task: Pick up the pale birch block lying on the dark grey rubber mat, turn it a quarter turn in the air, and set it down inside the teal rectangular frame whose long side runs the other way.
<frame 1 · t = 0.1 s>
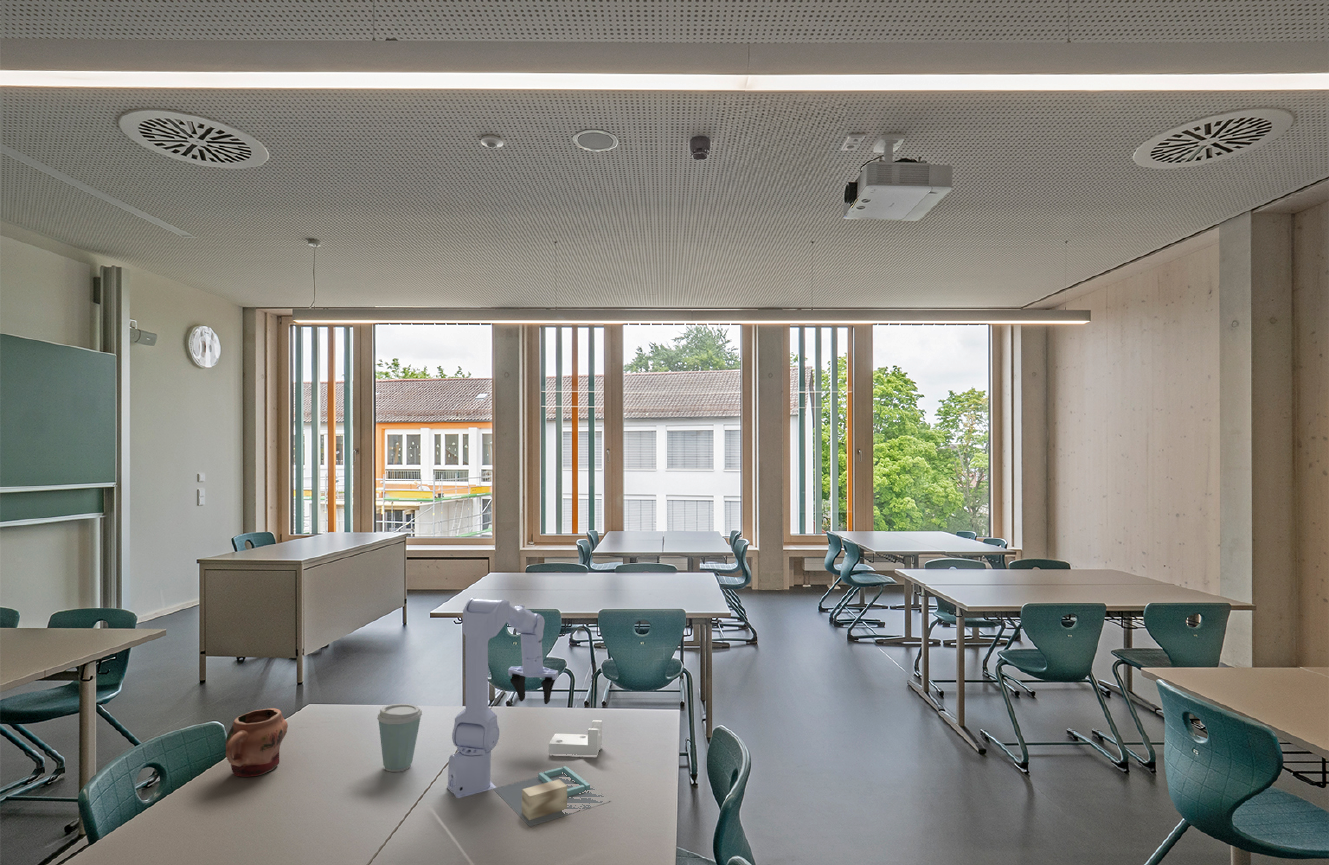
hand: (534, 700, 197), 11 cm above the table, tool pointing down, fingers open, 7 cm apart
birch block: (544, 810, 154), point 1 cm above the table, touching rubber mat
rubber mat: (551, 797, 161), on the table
disposable coffee cup: (398, 767, 177), on the table
bracket: (575, 753, 188), on the table
decorative planter: (253, 773, 173), on the table
teal frame: (563, 786, 167), resting on rubber mat
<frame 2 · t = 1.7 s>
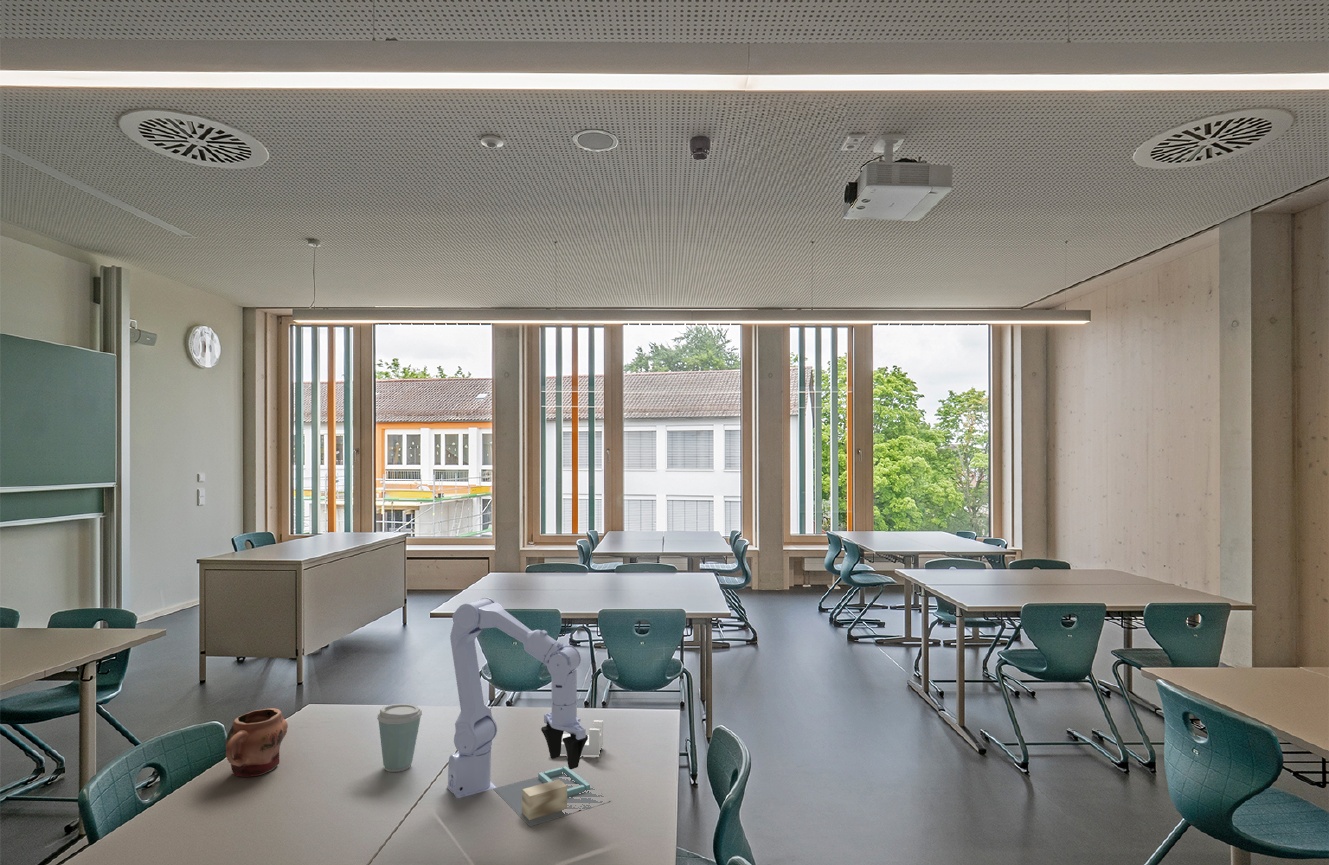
hand: (564, 762, 159), 9 cm above the table, tool pointing down, fingers open, 7 cm apart
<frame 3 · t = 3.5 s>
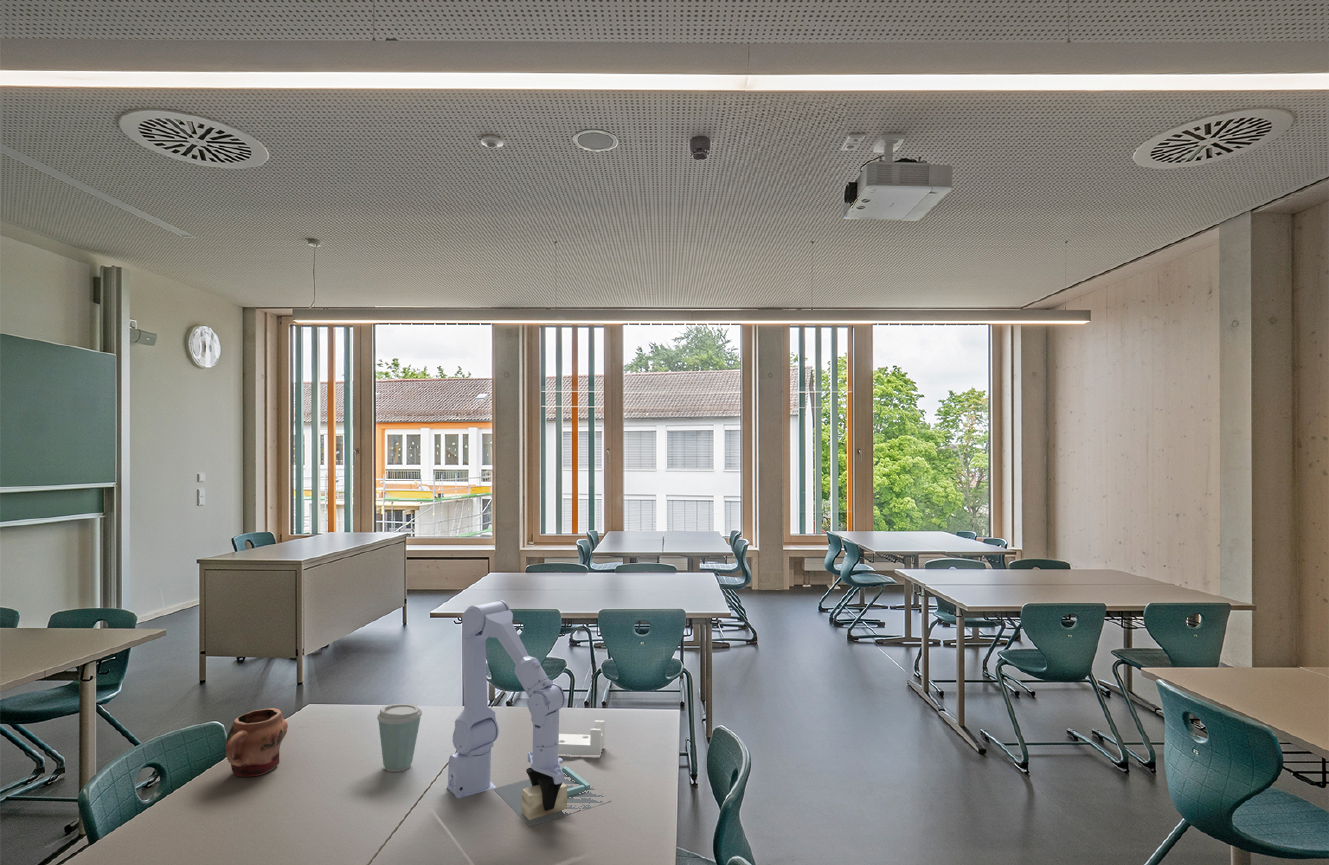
hand: (544, 805, 154), 2 cm above the table, tool pointing down, fingers closed on birch block, 4 cm apart
birch block: (544, 810, 154), point 1 cm above the table, touching gripper, rubber mat
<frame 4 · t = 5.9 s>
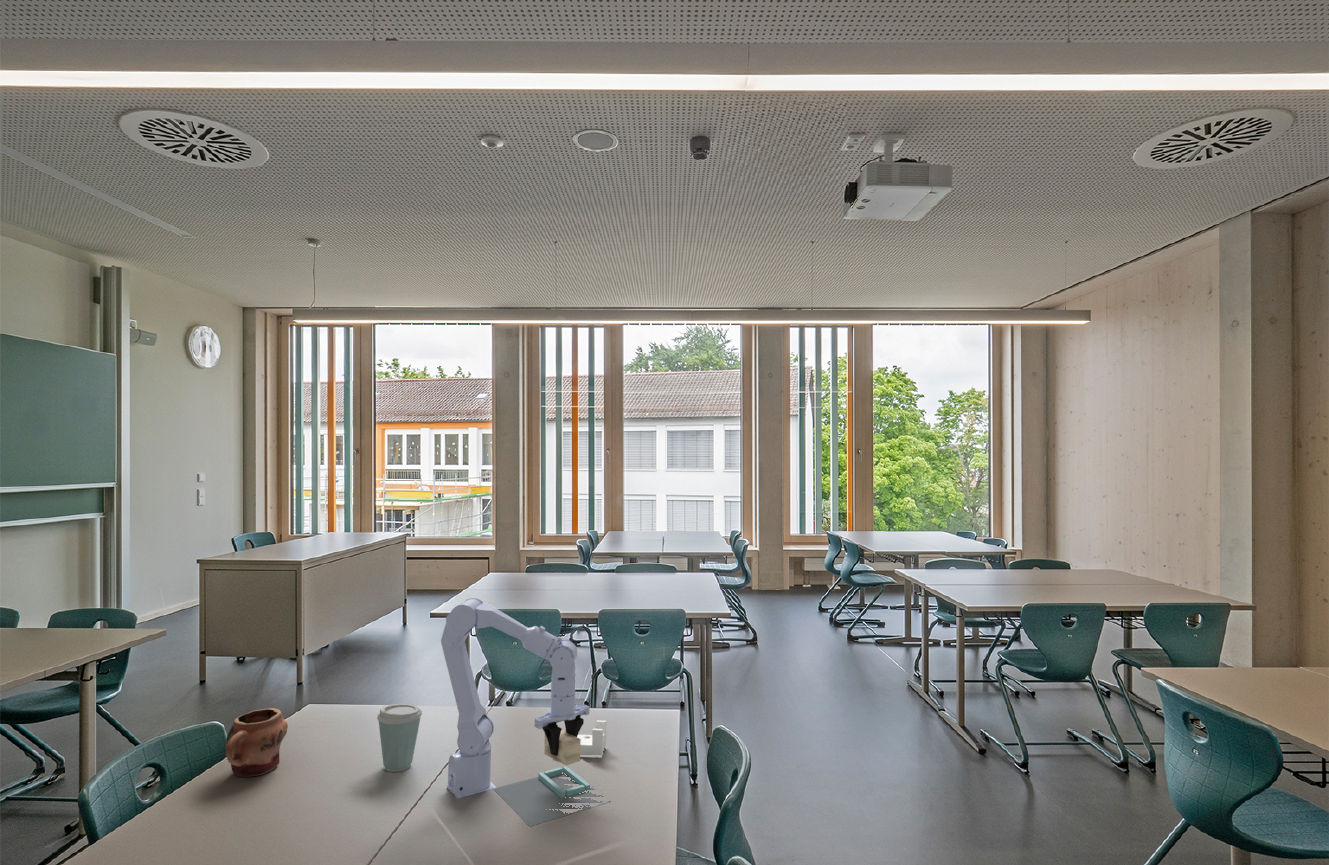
hand: (562, 751, 166), 9 cm above the table, tool pointing down, fingers closed on birch block, 4 cm apart
birch block: (562, 757, 166), point 8 cm above the table, touching gripper
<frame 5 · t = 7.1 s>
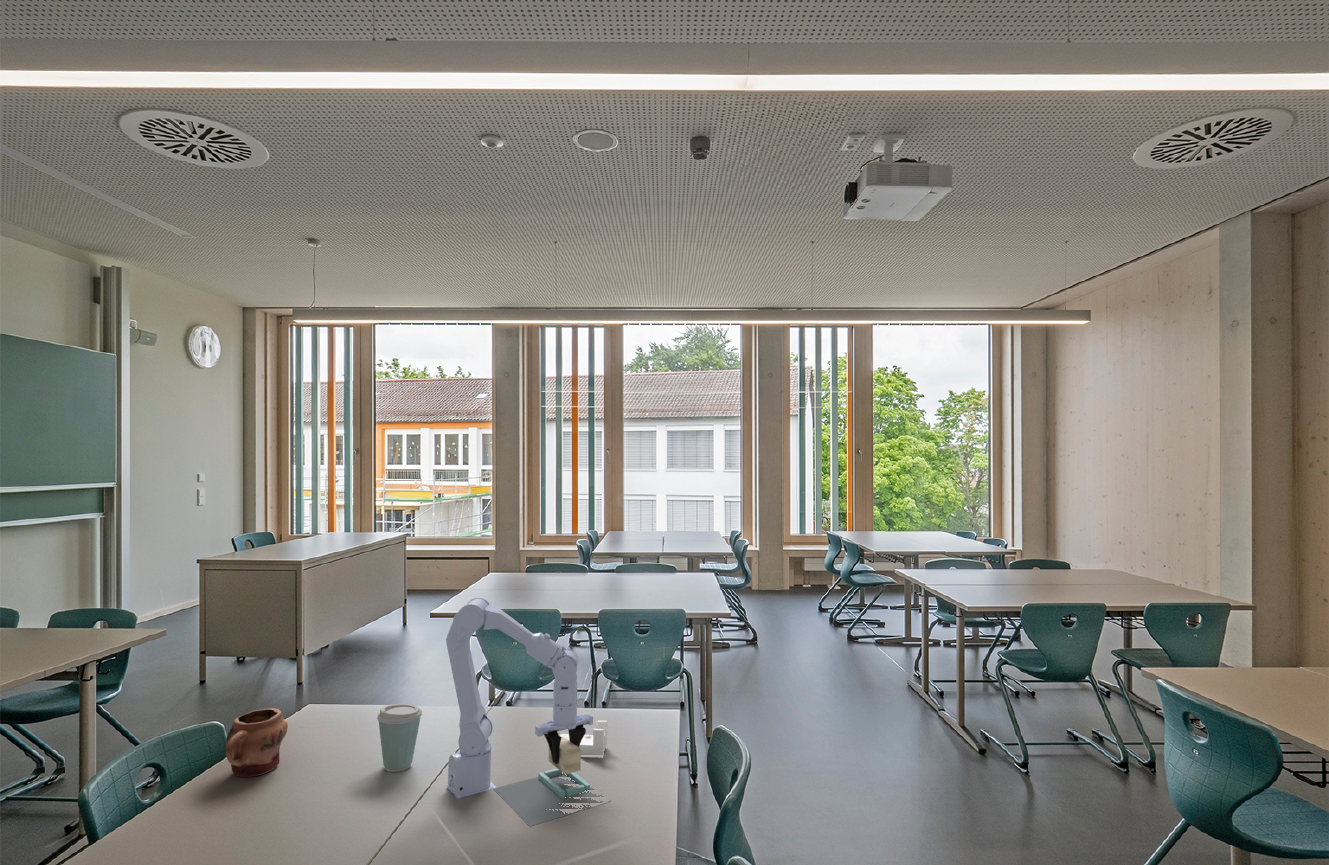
hand: (564, 760, 167), 6 cm above the table, tool pointing down, fingers closed on birch block, 4 cm apart
birch block: (564, 765, 167), point 5 cm above the table, touching gripper
when the fingers open (3 cm above the table, at t = 8.2 s): birch block stays where it is, resting on rubber mat.
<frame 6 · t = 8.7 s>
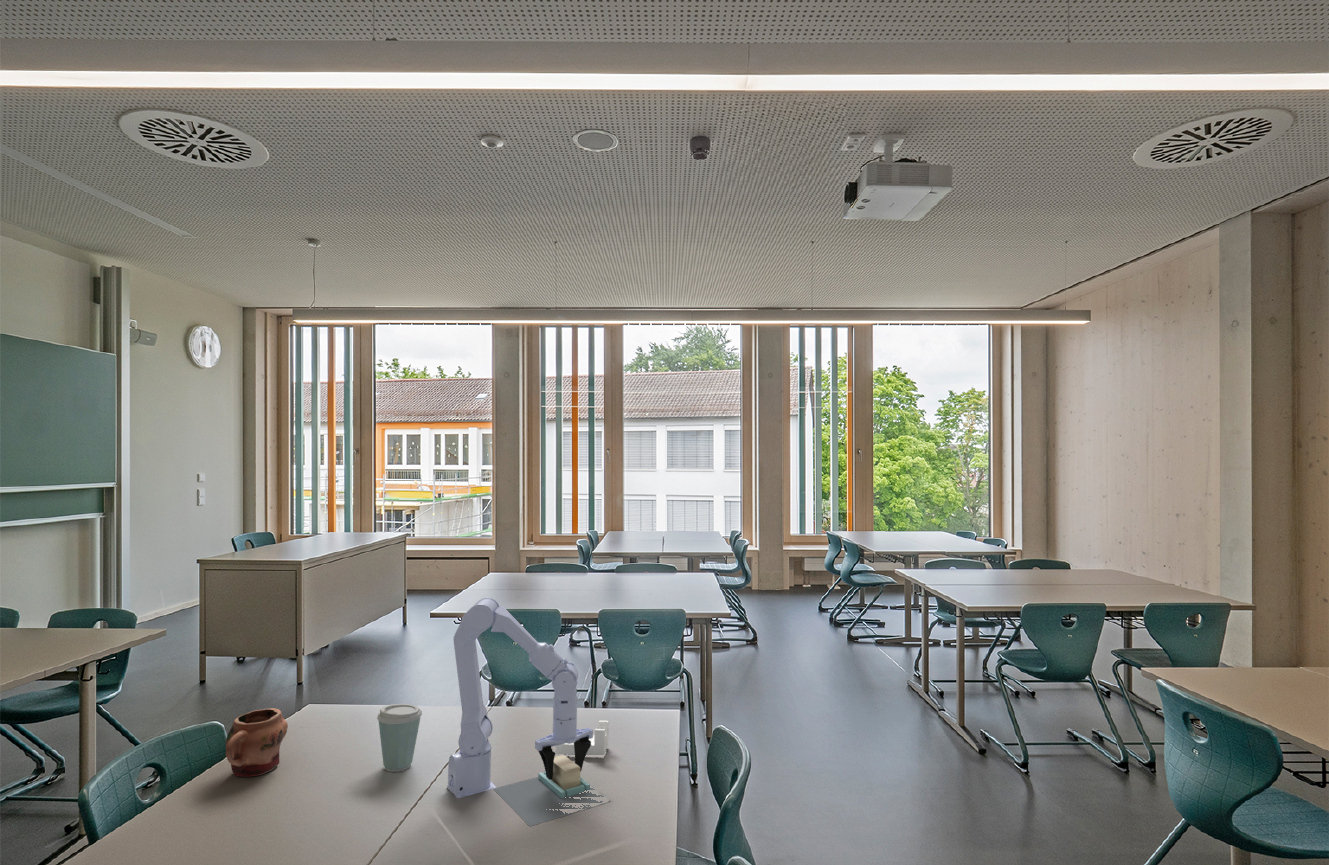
hand: (563, 774, 167), 3 cm above the table, tool pointing down, fingers open, 7 cm apart
birch block: (563, 783, 167), point 1 cm above the table, touching rubber mat
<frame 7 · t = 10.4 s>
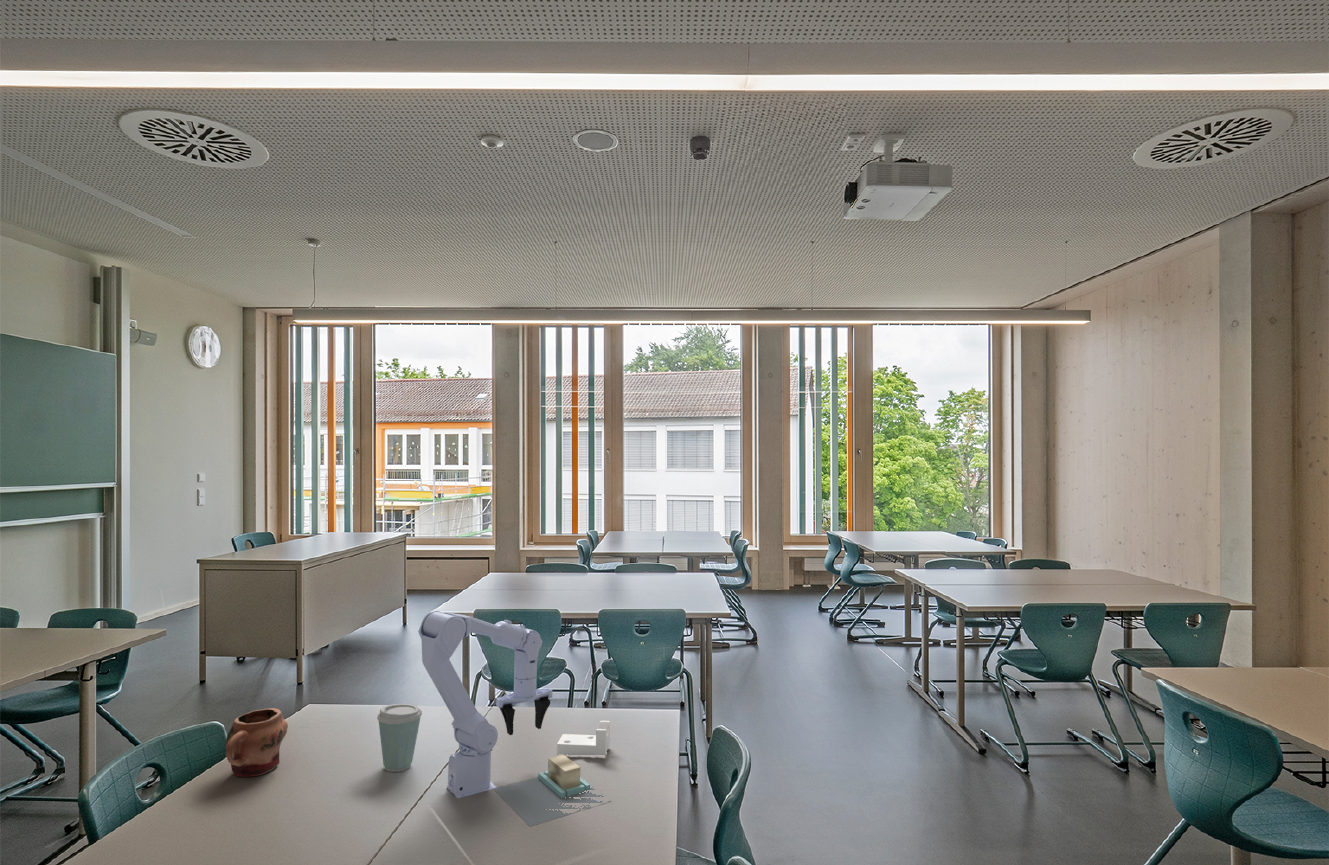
hand: (524, 730, 177), 9 cm above the table, tool pointing down, fingers open, 7 cm apart
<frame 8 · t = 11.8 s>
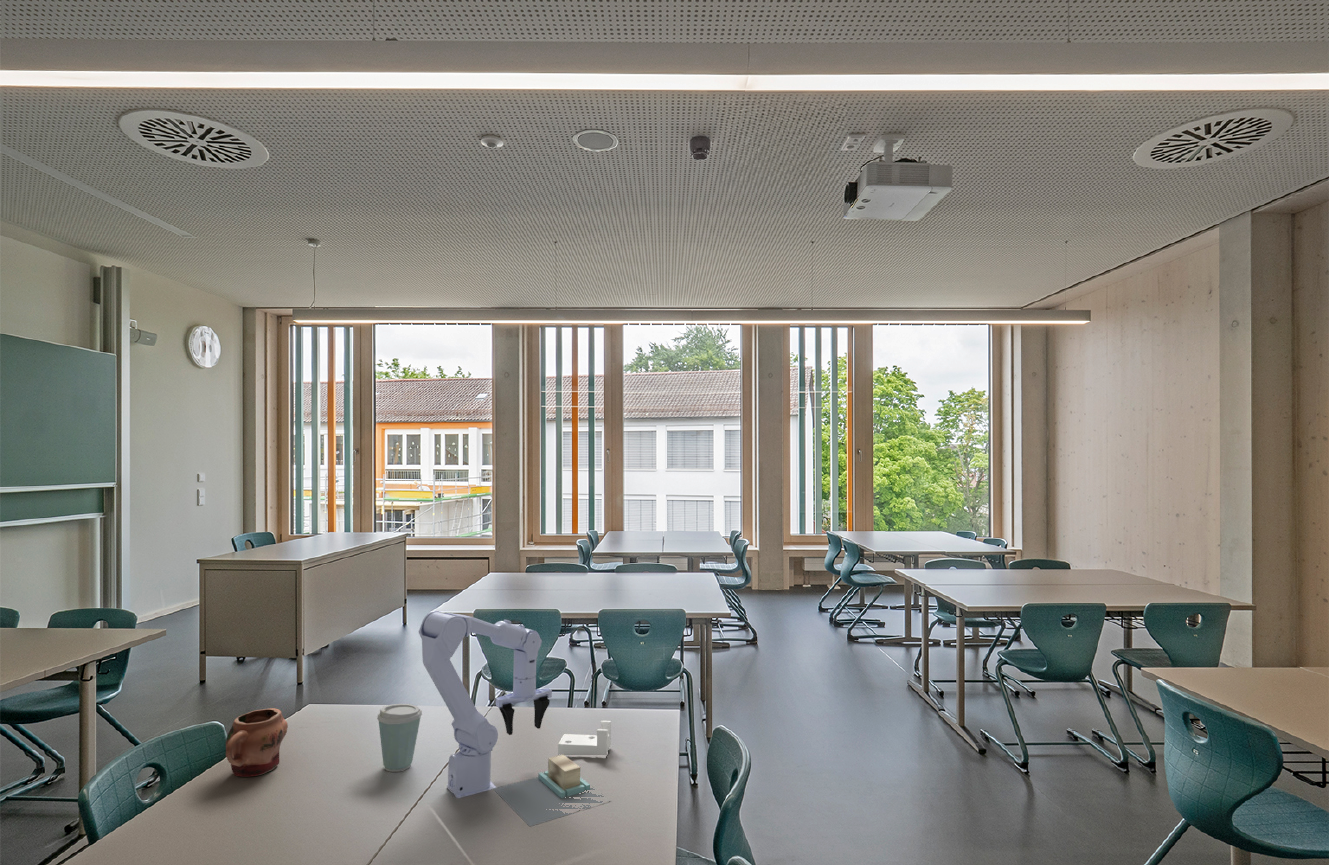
hand: (523, 730, 177), 9 cm above the table, tool pointing down, fingers open, 7 cm apart
at the end: birch block 0.0 cm off-centre on the teal frame, point 0.6 cm above the teal frame's base; birch block tilted 0°; the gripper is holding nothing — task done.
